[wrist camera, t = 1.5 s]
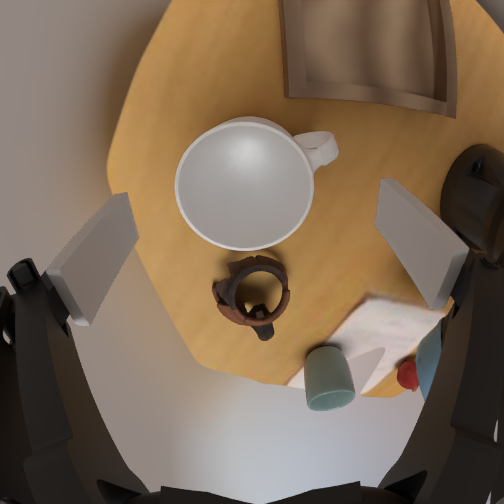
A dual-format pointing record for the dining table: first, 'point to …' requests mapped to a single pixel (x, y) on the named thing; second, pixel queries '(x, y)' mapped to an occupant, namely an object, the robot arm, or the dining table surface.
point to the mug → (250, 181)
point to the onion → (408, 375)
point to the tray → (371, 52)
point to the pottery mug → (236, 311)
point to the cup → (327, 379)
